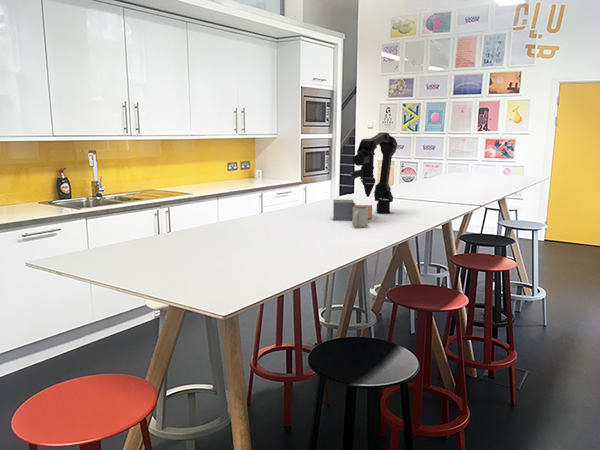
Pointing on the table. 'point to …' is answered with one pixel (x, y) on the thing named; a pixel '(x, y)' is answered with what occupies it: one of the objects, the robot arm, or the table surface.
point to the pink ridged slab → (368, 210)
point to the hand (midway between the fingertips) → (367, 195)
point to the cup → (360, 216)
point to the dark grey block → (343, 209)
